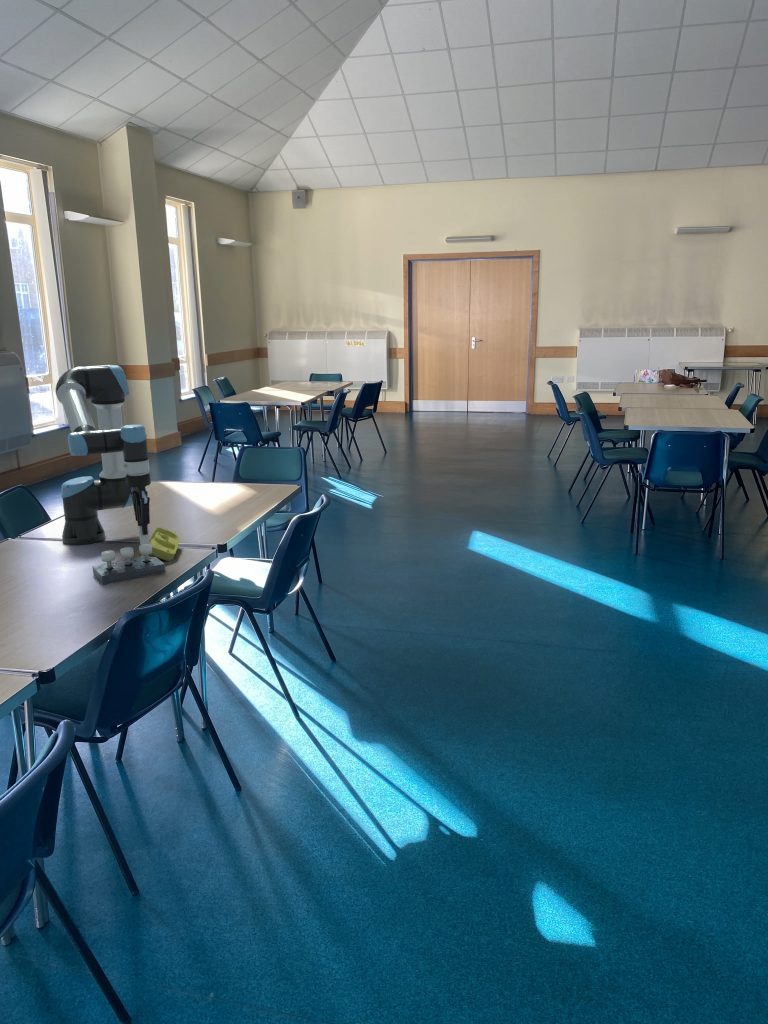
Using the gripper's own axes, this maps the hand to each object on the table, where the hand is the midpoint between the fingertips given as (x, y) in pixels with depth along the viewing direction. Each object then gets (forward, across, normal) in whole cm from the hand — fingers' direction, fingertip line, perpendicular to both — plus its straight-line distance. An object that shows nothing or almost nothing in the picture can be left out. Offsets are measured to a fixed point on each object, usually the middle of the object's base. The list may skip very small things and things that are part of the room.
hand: (145, 543), depth 248 cm
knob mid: (+6, 0, -6) cm, 9 cm away
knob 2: (+6, 0, 0) cm, 6 cm away
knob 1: (+6, 0, -12) cm, 13 cm away
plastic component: (+10, -15, +10) cm, 20 cm away
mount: (+9, 0, -6) cm, 11 cm away
